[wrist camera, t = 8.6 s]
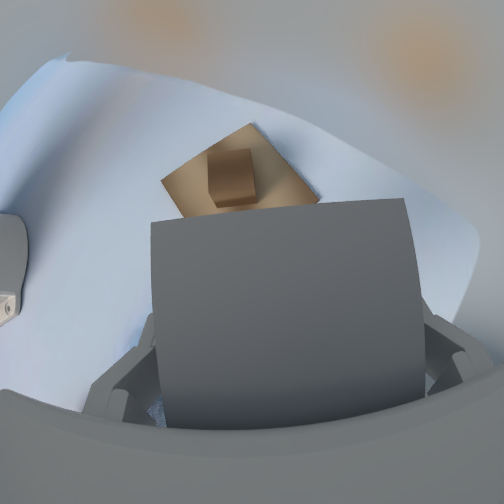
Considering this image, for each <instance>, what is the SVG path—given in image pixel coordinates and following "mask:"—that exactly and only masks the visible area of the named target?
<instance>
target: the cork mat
mask: <svg viewBox="0 0 504 504" xmlns="http://www.w3.org/2000/svg"><path fill="white" fill-rule="evenodd" d="M247 148H250V149H251V155H252V162H253V168H254V178H255V188H256V197H257V204H250V205H241V206H233V207H224V208H217V207H216V205H215V204H214V202H213V200H212V198H211V196H210V195H209V193H208V165H207V154H210V153H216V152H223V151H231V150H238V149H247ZM161 182H162V184H163V185H164V187H165V189H166V190H167V192H168V193H169V195H170V196H171V198H172V200H173V201H174V203H175V204H176V206H177V208H178V209H179V211H180V212H181V214H182V215H183V217H184V218H187V217H195V216H203V215H211V214H219V213H227V212H236V211H245V210H254V209H264V208H274V207H284V206H295V205H306V204H316V203H317V202H319V199H318V198H317V196H316V195H315V194H314V193H313V192H312V190H311V189H310V188H309V187H308V186H307V184H306V183H305V182H304V181H303V180H302V179H301V177H300V176H299V175H298V174H297V173H296V172H295V171H294V169H293V168H292V167H291V166H290V165H289V164H288V163H287V162H286V160H285V159H284V158H283V157H282V156H281V155H280V154H279V153H278V152H277V151H276V149H275V148H274V147H273V146H272V145H271V144H270V143H269V142H268V141H267V140H266V139H265V138H264V137H263V136H262V134H261V133H260V132H259V131H258V130H257V129H256V128H255V127H254V126H253V125H252V124H251V123H249V124H248V125H246V126H244V127H242V128H241V129H239V130H237V131H236V132H234V133H232V134H230V135H229V136H227V137H226V138H224V139H222V140H221V141H219V142H217V143H216V144H214V145H213V146H211V147H209V148H208V149H206V150H205V151H203V152H202V153H200V154H199V155H197V156H196V157H194V158H193V159H191V160H190V161H188V162H187V163H185V164H184V165H182V166H181V167H179V168H178V169H176V170H175V171H174V172H172V173H171V174H169V175H168V176H166V177H165V178H164V179H162V180H161Z"/></svg>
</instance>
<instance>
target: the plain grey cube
mask: <svg viewBox="0 0 504 504" xmlns="http://www.w3.org/2000/svg"><path fill="white" fill-rule="evenodd" d="M151 287H152V307H153V322H154V335H155V345H156V355H157V364H158V373H159V380H160V388H161V394H162V401H163V407H164V413H165V419H166V425H167V427H168V428H180V429H197V430H252V429H270V428H282V427H292V426H301V425H309V424H316V423H323V422H329V421H335V420H340V419H346V418H351V417H355V416H360V415H365V414H369V413H373V412H377V411H381V410H385V409H389V408H392V407H396V406H399V405H403V404H406V403H409V402H412V401H415V400H418V399H421V398H424V397H425V333H424V318H423V306H422V296H421V288H420V280H419V273H418V266H417V260H416V254H415V248H414V243H413V238H412V233H411V228H410V223H409V219H408V215H407V210H406V206H405V202H404V198H398V199H378V200H361V201H345V202H331V203H318V204H306V205H295V206H284V207H274V208H264V209H254V210H245V211H236V212H227V213H219V214H211V215H203V216H195V217H187V218H180V219H173V220H166V221H159V222H152V223H151Z"/></svg>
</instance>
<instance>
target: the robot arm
mask: <svg viewBox="0 0 504 504" xmlns="http://www.w3.org/2000/svg"><path fill="white" fill-rule="evenodd" d="M27 257H28V239H27V232H26V228H25V225H24V223H23V221H22V220H21V218H20V217H18V216H17V215H9V214H1V213H0V326H1V325H3V324H4V323H6V322H8V321H9V320H11V319H12V318H14V317H15V316H17V315H18V314H19V312H20V303H21V288H22V283H23V280H24V276H25V271H26V266H27ZM422 306H423V318H424V333H425V372H426V373H427V374H428V375H429V376H430V377H431V378H433V379H434V380H435V382H434V383H433V384H432V386H431V387H430V389H429V390H428V392H427V394H428V396H427V397H424V398H421V399H418V400H415V401H412V402H409V403H406V404H403V405H399V406H396V407H392V408H389V409H385V410H381V411H377V412H373V413H369V414H365V415H360V416H355V417H351V418H346V419H340V420H335V421H329V422H323V423H316V424H309V425H301V426H292V427H282V428H270V429H252V430H197V429H180V428H168V427H158V426H156V425H157V423H156V421H155V420H154V419H153V418H152V417H151V416H150V415H149V414H148V413H147V412H146V411H147V410H148V409H149V408H150V406H151V405H152V404H153V403H154V401H155V400H156V399H157V398H158V396H159V395H160V394H161V388H160V380H159V373H158V364H157V355H156V345H155V335H154V322H153V313H150V314H149V315H148V317H147V320H146V323H145V326H144V329H143V331H142V334H141V337H140V340H139V343H138V346H137V347H133V348H132V349H131V350H130V351H129V352H127V353H126V354H125V355H124V356H123V357H122V358H121V359H120V360H119V361H117V362H116V363H115V364H114V365H113V366H112V367H111V368H110V369H108V370H107V371H106V372H105V373H104V374H103V375H102V376H101V377H100V378H98V379H97V380H96V381H95V382H94V383H93V384H92V386H91V388H90V391H89V394H88V397H87V400H86V403H85V406H84V409H83V412H82V413H79V412H75V411H72V410H68V409H64V408H61V407H57V406H54V405H51V404H48V403H45V402H42V401H39V400H36V399H33V398H30V397H27V396H25V395H22V394H19V393H17V392H15V391H12V390H9V389H2V390H0V504H504V363H502V364H500V365H499V366H497V367H495V366H494V364H493V362H492V360H491V358H490V357H489V355H488V353H487V351H486V349H485V348H484V346H483V344H482V342H480V341H479V340H477V339H475V338H474V337H472V336H471V335H469V334H467V333H466V332H464V331H462V330H461V329H459V328H458V327H456V326H454V325H453V324H451V323H450V322H448V321H446V320H445V319H443V318H441V317H440V316H438V315H433V314H432V312H431V310H430V309H429V307H428V306H427V304H426V302H425V301H424V299H423V298H422Z"/></svg>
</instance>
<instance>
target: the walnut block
mask: <svg viewBox="0 0 504 504" xmlns="http://www.w3.org/2000/svg"><path fill="white" fill-rule="evenodd" d="M207 165H208V193H209V195H210V196H211V198H212V200H213V202H214V204H215V205H216V207H217V208H224V207H233V206H241V205H250V204H257V197H256V188H255V178H254V168H253V162H252V155H251V149H250V148H247V149H238V150H231V151H223V152H216V153H210V154H207Z"/></svg>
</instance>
